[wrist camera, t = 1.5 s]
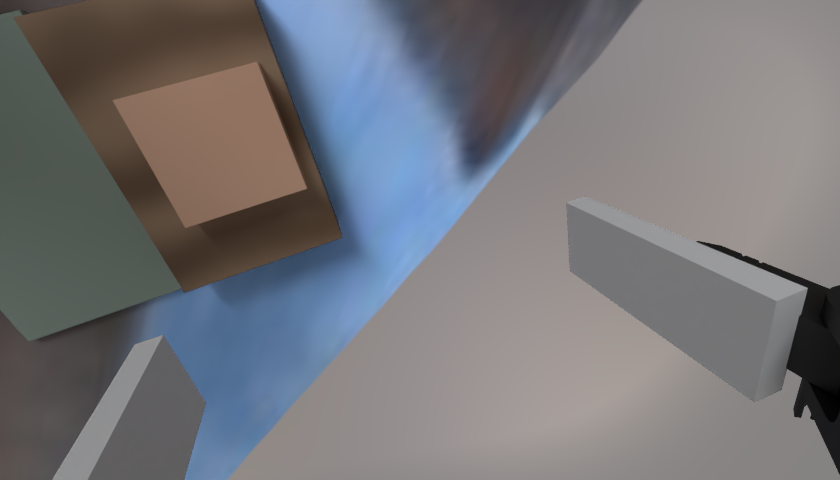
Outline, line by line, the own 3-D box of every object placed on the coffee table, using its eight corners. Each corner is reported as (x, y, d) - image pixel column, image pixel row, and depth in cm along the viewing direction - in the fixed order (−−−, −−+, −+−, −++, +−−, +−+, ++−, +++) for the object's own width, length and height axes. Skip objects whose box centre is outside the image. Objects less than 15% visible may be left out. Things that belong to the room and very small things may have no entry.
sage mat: (-209, 64, 22) (-222, 64, 21) (25, 11, 24) (19, 10, 23) (33, 337, 31) (28, 341, 30) (190, 282, 32) (188, 286, 32)
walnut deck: (54, 25, 24) (12, 17, 21) (247, -20, 26) (240, -35, 23) (196, 268, 32) (184, 292, 29) (337, 220, 34) (342, 237, 31)
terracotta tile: (126, 98, 23) (112, 100, 22) (259, 62, 25) (256, 61, 23) (192, 218, 27) (185, 228, 25) (306, 181, 28) (307, 188, 26)
